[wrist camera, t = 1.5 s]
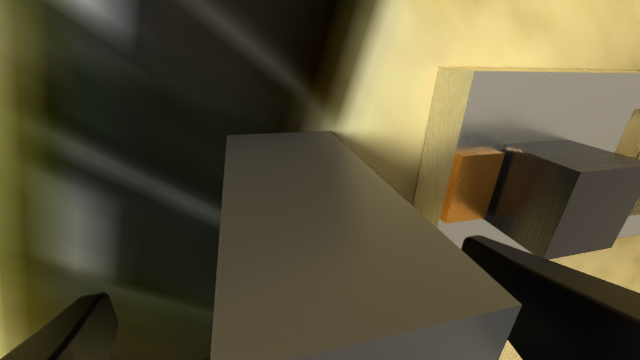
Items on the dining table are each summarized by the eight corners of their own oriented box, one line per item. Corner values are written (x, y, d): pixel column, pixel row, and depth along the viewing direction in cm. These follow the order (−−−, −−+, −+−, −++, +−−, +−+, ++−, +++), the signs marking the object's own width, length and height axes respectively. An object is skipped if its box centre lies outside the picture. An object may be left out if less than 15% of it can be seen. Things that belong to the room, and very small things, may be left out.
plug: (326, 215, 13) (456, 457, 6) (236, 226, 12) (241, 536, 5) (330, 131, 12) (521, 304, 4) (227, 135, 11) (208, 378, 3)
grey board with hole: (618, 214, 20) (729, 263, 15) (405, 246, 16) (472, 326, 11) (693, 71, 16) (869, 81, 11) (439, 66, 12) (559, 80, 7)
